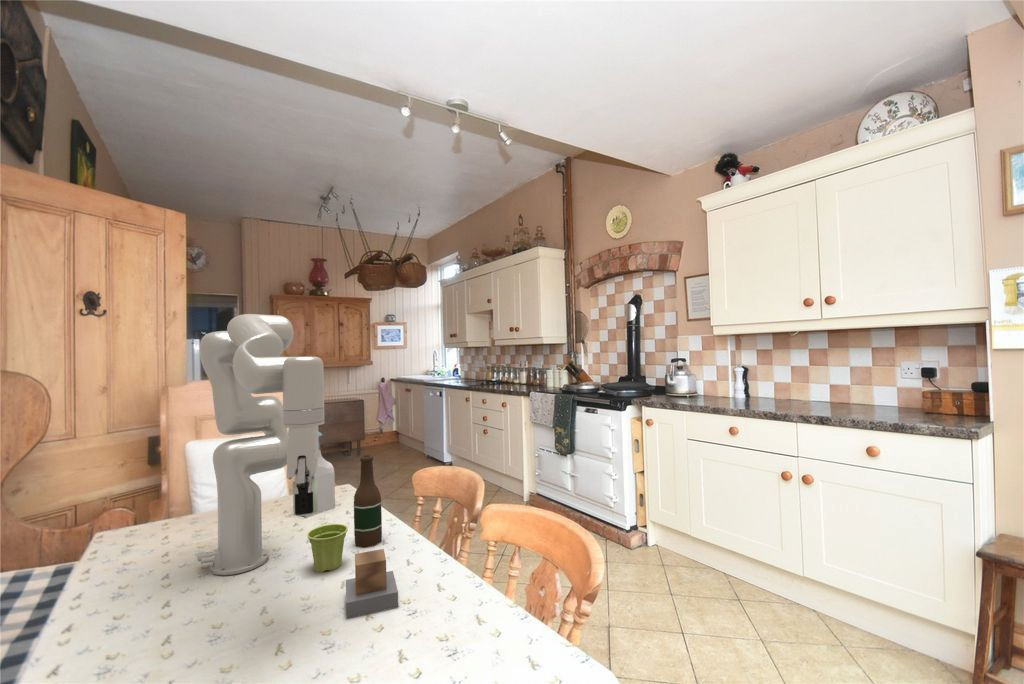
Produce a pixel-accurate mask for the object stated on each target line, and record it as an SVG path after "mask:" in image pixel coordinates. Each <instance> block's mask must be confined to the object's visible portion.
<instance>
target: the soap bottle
mask: <svg viewBox="0 0 1024 684" xmlns="http://www.w3.org/2000/svg"><path fill="white" fill-rule="evenodd" d="M318 434H319V438H320V439H321V438H324V437H325V434H323V433H322V432H320V431H319V430H318ZM335 478H336V477H335V468H334V466H333V464H332V462H329V461H327V460H326V459H325V458H324V457H323V456H322V451H321V443H320V442H319V452H318V467H317V470H316V473H315V475H314V479H317V498H318V510H317V511H316V512H315V513H312V514H308V515H302V516H301V517H305V518H309V517H313V516H315V515H317V514H321V513H324V512H327V511H329V510H333V509H335V507H336V491H335V490H336V489H335V488H336V486H335V485H336V483H335V482H336V481H335V480H336V479H335ZM295 479H296V473H295V475H294V476H293V482H295V481H296V480H295ZM332 508H333V509H332Z"/></svg>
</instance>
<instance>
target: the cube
mask: <svg viewBox="0 0 1024 684" xmlns="http://www.w3.org/2000/svg"><path fill="white" fill-rule="evenodd" d="M386 557H387V556H386V553H385V549H384V548H380V549H375V550H368V551H363V552H359V553H354V569H355V570H354V573H355V574H354V575H355V583H356V596H358V595H362V594H367V593H372V592H377V591H381V590H386V589H387V577H386V572H387V558H386Z"/></svg>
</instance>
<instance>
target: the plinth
mask: <svg viewBox="0 0 1024 684" xmlns="http://www.w3.org/2000/svg"><path fill="white" fill-rule="evenodd" d="M394 573H395V572H394V571H393V570H389V571H386V577H387V589H386V590H381V591H377V592H372V593H367V594H362V595H358V596H356V583H355V578H354V577H353V578H350V579H349V578H348V579H345V617H346V620H347V619H351V618H356V617H359V616H364V615H367V614H368V615H369V614H372V613H377V612H378V613H379V612H381V611H385V610H387V611H388V610H390V609H391V610H392V609H395V608H398V607H399V591H398V590H399V589H398V586H397V582H396V578H395V574H394Z"/></svg>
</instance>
